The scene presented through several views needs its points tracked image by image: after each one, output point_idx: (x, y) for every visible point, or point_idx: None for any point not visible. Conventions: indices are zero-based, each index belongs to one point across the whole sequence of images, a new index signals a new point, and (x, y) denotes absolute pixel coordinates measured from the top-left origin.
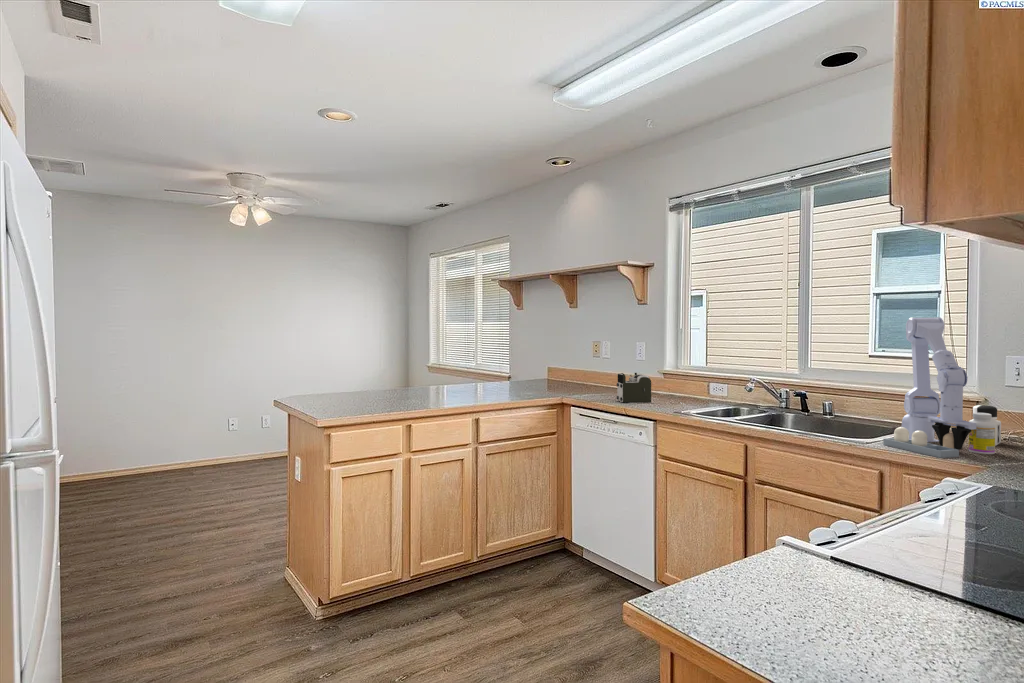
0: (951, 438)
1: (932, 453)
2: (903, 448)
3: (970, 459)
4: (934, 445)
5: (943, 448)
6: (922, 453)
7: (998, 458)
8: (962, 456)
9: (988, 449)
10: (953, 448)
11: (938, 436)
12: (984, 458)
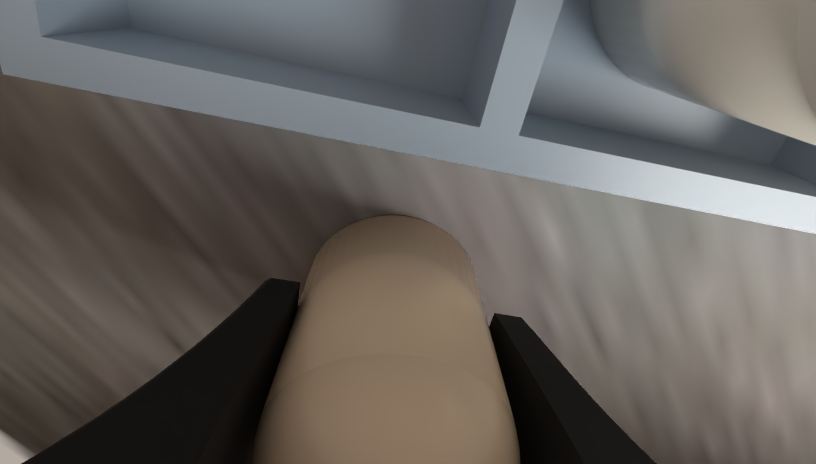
0: (307, 417)
1: None
2: None
3: (14, 122)
4: (518, 84)
5: (343, 92)
6: None
7: (43, 421)
8: (206, 223)
9: None
10: (313, 288)
11: (606, 436)
12: (58, 324)
